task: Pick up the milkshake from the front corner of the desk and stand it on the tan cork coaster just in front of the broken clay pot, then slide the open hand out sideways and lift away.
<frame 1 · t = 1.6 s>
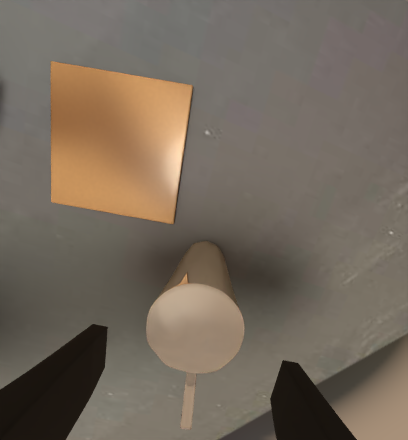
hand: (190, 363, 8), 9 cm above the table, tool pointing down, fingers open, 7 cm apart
coaster: (118, 149, 16), on the table
milkshake: (204, 262, 18), on the table
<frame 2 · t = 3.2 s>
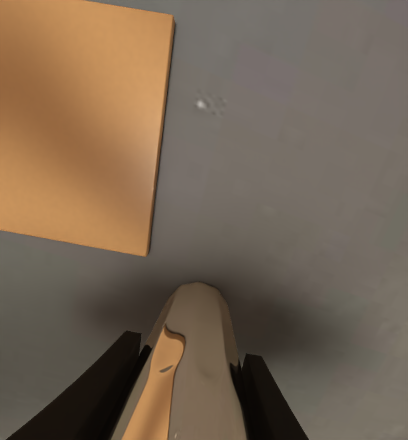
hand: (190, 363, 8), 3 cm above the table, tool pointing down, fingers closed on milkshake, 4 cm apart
coaster: (52, 133, 9), on the table
milkshake: (197, 312, 11), on the table, touching gripper
when the fingers open (3 cm above the table, at t = 7.5 s): milkshake stays where it is, resting on coaster.
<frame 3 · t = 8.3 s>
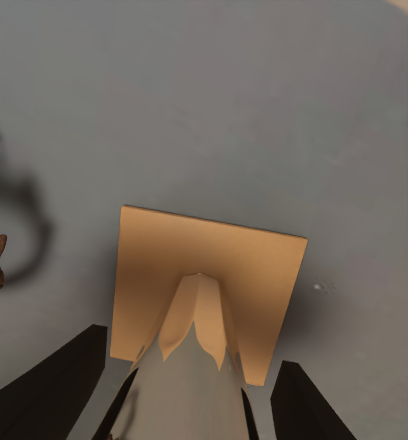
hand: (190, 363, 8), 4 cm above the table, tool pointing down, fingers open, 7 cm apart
coaster: (199, 300, 12), on the table
milkshake: (198, 302, 12), resting on coaster
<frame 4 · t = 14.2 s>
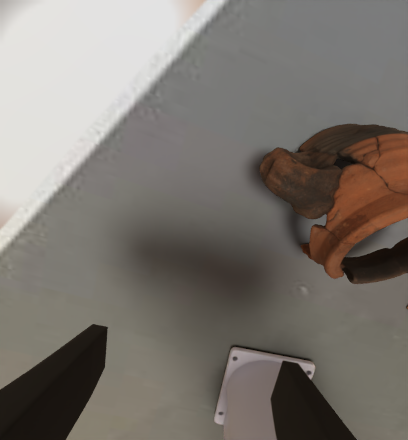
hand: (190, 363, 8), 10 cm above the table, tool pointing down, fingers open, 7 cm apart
broken clay pot: (320, 190, 16), on the table
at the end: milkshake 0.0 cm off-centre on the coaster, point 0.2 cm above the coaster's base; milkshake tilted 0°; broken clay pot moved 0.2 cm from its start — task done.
